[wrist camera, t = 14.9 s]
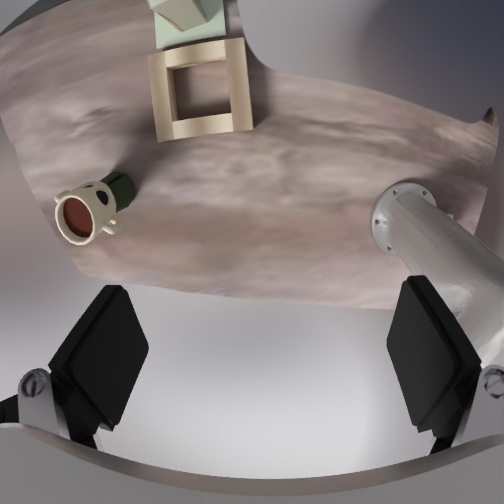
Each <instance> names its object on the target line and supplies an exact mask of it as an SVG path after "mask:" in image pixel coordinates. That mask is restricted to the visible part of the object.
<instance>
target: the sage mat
mask: <svg viewBox="0 0 504 504" xmlns="http://www.w3.org/2000/svg"><path fill="white" fill-rule="evenodd" d="M200 1H201V3H202V6H203V8H204V11H205V14H206V17H207V20H208V23H206V24H203V25H200V26H197V27H195V28H192V29H190V30H187V31H184V32H182V33H180V32H179V31H178V30H177V29H175V28H174V27H173V26H172V25H171V24H169V23H168V22H167V21H166V20H165V19H163V18H162V17H161V16H159V15H158V14H157V13H156V12H155V29H156V45H157V49H161V48H165V47H169V46H174V45H178V44H182V43H187V42H192V41H197V40H202V39H208V38H214V37H221V36H226V27H225V17H224V7H223V0H200Z"/></svg>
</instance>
